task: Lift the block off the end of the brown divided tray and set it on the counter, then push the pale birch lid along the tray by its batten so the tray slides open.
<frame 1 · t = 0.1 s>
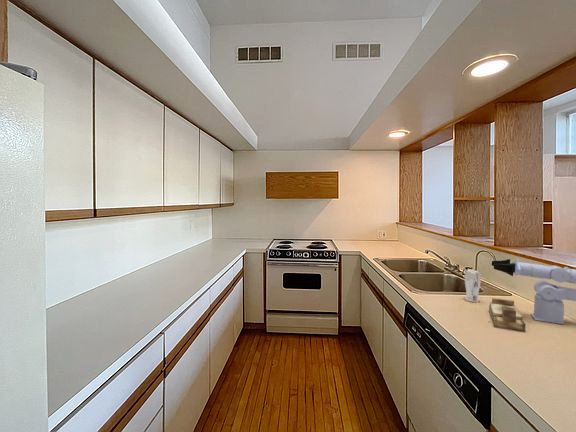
hand: (492, 264, 139), 22 cm above the countertop, tool horizontal, fingers open, 7 cm apart
brown divided tray: (505, 320, 130), on the countertop
lid: (505, 307, 131), point 5 cm above the countertop, slide at 0.0 cm
beer glass: (472, 300, 156), on the countertop
block: (508, 319, 123), point 3 cm above the countertop, touching brown divided tray
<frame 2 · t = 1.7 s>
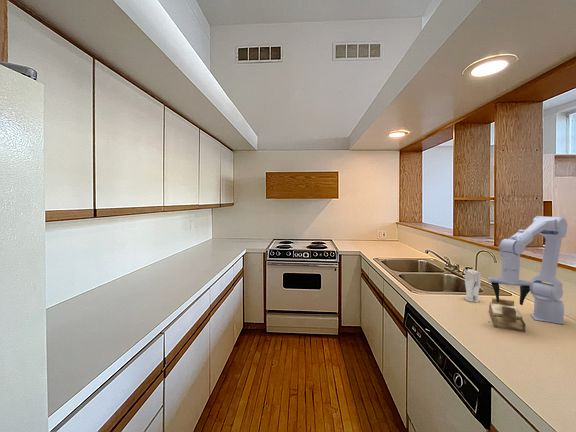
hand: (509, 302, 122), 10 cm above the countertop, tool pointing down, fingers open, 7 cm apart
nothing on the countertop moved.
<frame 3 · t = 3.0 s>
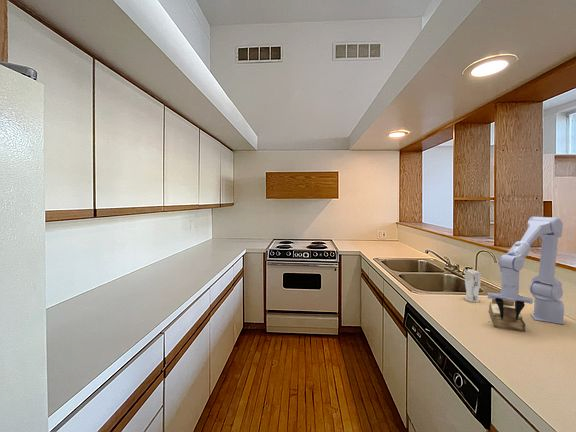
hand: (508, 318, 123), 4 cm above the countertop, tool pointing down, fingers closed on block, 4 cm apart
block: (508, 319, 123), point 3 cm above the countertop, touching gripper, brown divided tray
everything else where it was.
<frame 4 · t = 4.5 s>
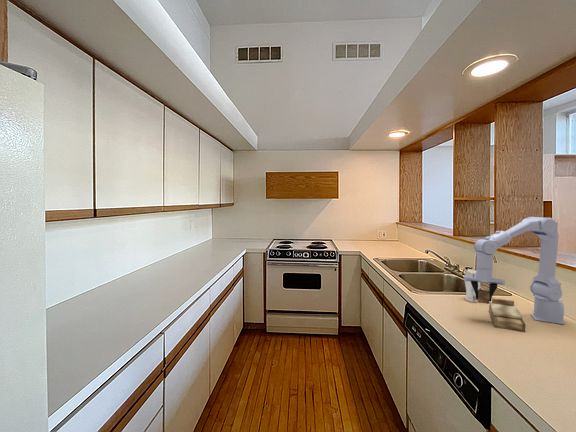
hand: (483, 299, 130), 9 cm above the countertop, tool pointing down, fingers closed on block, 4 cm apart
block: (483, 301, 130), point 8 cm above the countertop, touching gripper
everything else where it was.
when the fingers open (2 cm above the countertop, at t = 6.0 s): block drops 1 cm, on the countertop.
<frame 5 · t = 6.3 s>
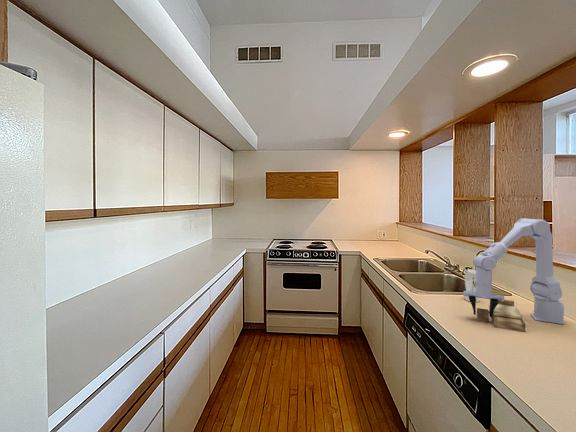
hand: (482, 315, 130), 2 cm above the countertop, tool pointing down, fingers open, 5 cm apart
lid: (505, 307, 131), point 5 cm above the countertop, slide at 0.0 cm, touching gripper
block: (482, 320, 130), on the countertop
everything else where it was.
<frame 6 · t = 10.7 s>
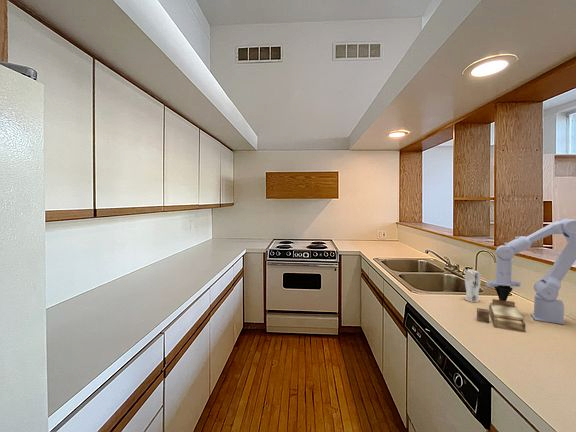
hand: (502, 302, 138), 5 cm above the countertop, tool pointing down, fingers closed
lid: (505, 308, 130), point 5 cm above the countertop, slide at 1.6 cm, touching gripper
everything else where it was.
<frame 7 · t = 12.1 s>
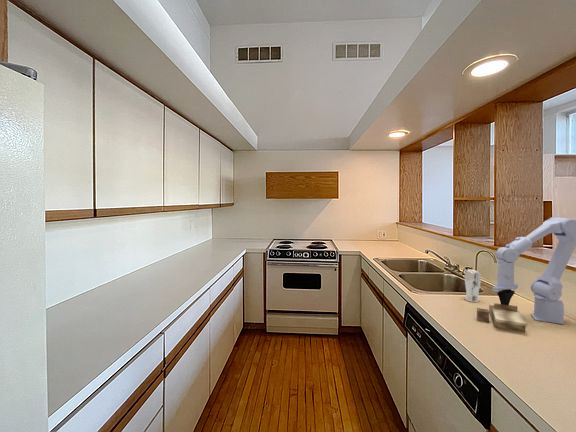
hand: (504, 306, 133), 5 cm above the countertop, tool pointing down, fingers closed
lid: (507, 313, 125), point 5 cm above the countertop, slide at 7.8 cm, touching gripper
everything else where it was.
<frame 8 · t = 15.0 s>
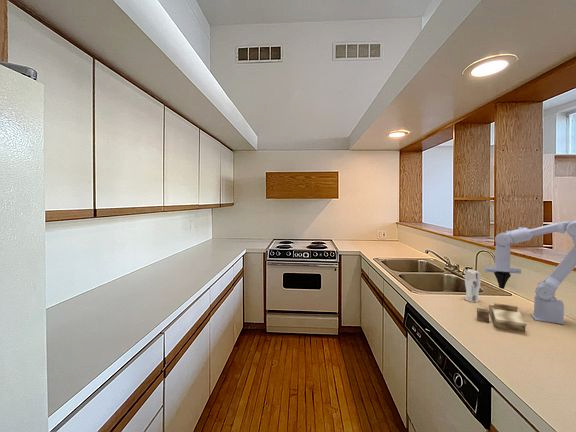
hand: (501, 288, 141), 10 cm above the countertop, tool pointing down, fingers closed
lid: (507, 313, 125), point 5 cm above the countertop, slide at 7.8 cm
everything else where it was.
at the end: lid slide at 7.8 cm; block inside the target area (0.6 cm from its centre), on the countertop; the gripper is holding nothing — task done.
